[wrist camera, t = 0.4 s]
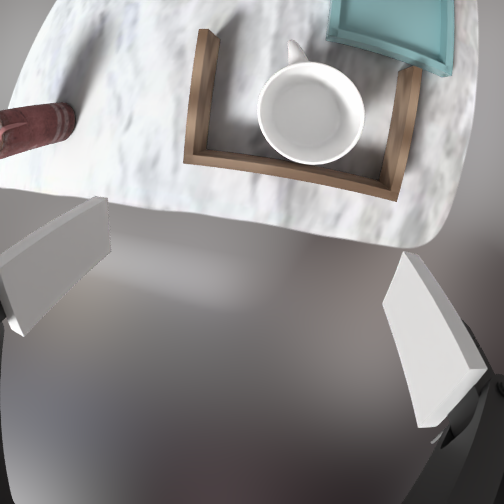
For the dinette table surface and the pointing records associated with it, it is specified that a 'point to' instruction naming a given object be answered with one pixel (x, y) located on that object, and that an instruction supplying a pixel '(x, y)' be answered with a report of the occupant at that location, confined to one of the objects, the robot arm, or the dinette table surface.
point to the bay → (380, 188)
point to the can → (34, 127)
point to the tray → (397, 30)
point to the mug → (310, 110)
